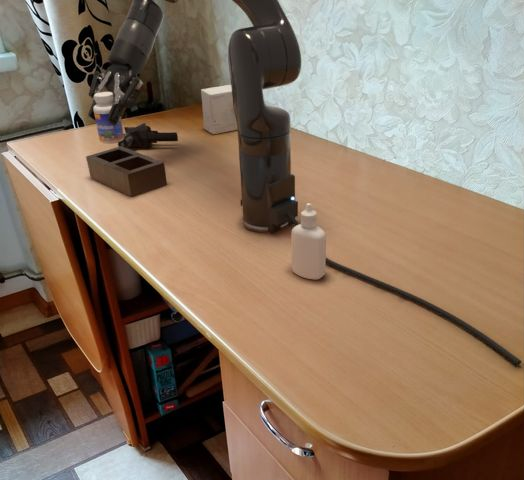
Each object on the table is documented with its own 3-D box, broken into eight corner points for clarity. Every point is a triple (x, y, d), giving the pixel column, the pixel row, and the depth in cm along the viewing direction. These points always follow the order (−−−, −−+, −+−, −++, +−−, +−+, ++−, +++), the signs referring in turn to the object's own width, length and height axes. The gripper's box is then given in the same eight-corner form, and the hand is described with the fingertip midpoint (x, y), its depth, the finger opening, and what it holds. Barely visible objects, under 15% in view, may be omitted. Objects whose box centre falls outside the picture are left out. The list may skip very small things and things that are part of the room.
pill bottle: (95, 143, 127) (85, 97, 121) (107, 135, 131) (98, 90, 125) (117, 144, 125) (108, 97, 119) (128, 137, 129) (120, 91, 123)
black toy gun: (185, 118, 154) (131, 118, 156) (168, 132, 138) (108, 133, 139) (187, 138, 157) (134, 139, 159) (170, 155, 141) (111, 155, 142)
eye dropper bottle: (312, 263, 97) (313, 195, 90) (328, 278, 93) (330, 208, 86) (289, 268, 96) (288, 200, 88) (303, 284, 92) (304, 213, 84)
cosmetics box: (213, 135, 155) (209, 94, 148) (203, 129, 159) (199, 89, 153) (247, 128, 159) (245, 87, 152) (237, 122, 163) (234, 83, 157)
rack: (167, 184, 128) (164, 162, 125) (131, 197, 123) (127, 174, 120) (125, 166, 138) (121, 145, 135) (90, 177, 133) (85, 156, 130)
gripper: (97, 35, 124) (67, 107, 124) (144, 39, 117) (112, 116, 117) (120, 57, 131) (91, 125, 131) (166, 63, 124) (135, 135, 124)
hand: (101, 120), depth 124 cm, fingers closed on pill bottle, 5 cm apart
